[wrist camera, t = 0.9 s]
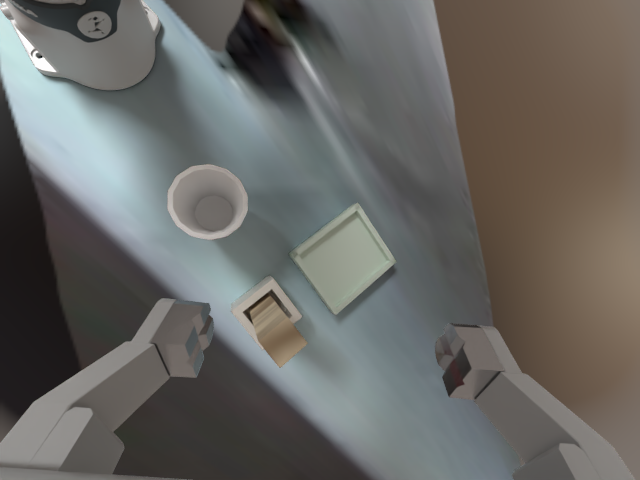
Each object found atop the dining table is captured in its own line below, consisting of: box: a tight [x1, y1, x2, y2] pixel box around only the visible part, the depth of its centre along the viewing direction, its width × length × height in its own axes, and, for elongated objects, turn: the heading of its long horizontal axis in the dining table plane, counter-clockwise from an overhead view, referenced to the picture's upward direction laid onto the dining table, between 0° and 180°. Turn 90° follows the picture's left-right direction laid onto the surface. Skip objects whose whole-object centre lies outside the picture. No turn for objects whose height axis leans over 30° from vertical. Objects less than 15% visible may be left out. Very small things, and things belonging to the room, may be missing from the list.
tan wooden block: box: [248, 293, 308, 368], centre depth 40 cm, size 4×4×18 cm
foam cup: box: [167, 164, 248, 240], centre depth 41 cm, size 10×9×13 cm
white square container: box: [231, 275, 302, 350], centre depth 46 cm, size 8×8×6 cm
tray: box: [288, 203, 396, 315], centre depth 53 cm, size 14×16×2 cm
